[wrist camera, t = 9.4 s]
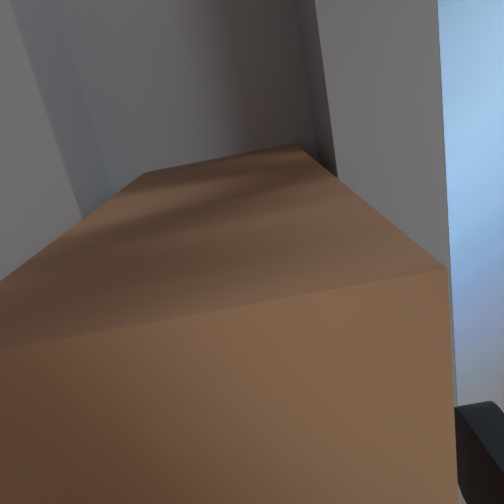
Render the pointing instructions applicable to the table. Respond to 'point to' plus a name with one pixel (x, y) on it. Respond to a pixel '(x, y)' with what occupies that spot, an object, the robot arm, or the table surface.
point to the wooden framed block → (228, 348)
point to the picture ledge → (217, 104)
